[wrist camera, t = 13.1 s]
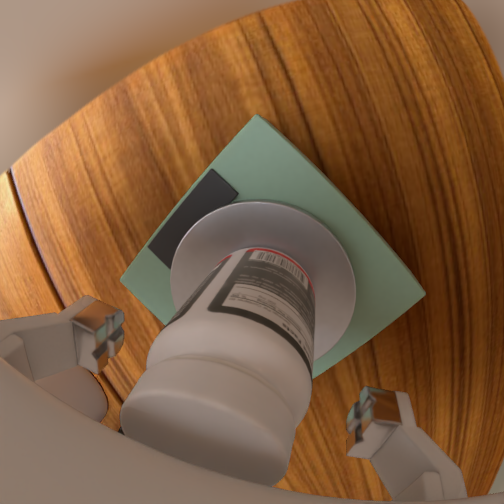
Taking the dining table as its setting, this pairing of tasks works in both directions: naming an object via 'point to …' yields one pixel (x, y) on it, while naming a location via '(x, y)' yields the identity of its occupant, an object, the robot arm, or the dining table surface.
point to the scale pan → (278, 238)
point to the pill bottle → (231, 370)
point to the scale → (295, 193)
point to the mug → (77, 391)
